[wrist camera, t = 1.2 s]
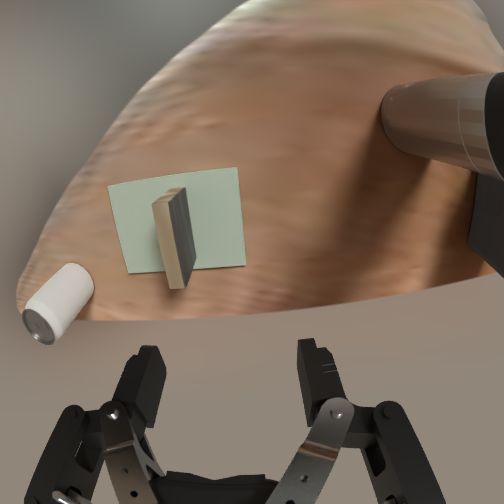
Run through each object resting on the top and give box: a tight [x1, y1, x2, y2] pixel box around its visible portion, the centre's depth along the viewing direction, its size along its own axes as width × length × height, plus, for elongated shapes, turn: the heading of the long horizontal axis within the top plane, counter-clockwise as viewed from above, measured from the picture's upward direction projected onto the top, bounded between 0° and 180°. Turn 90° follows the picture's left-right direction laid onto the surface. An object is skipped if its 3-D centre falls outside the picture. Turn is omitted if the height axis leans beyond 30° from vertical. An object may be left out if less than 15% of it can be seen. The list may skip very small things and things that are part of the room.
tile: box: [151, 187, 197, 289], centre depth 29 cm, size 2×9×7 cm, turn 4°
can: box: [22, 263, 94, 345], centre depth 30 cm, size 6×6×12 cm
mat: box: [108, 167, 246, 273], centre depth 32 cm, size 16×12×1 cm
